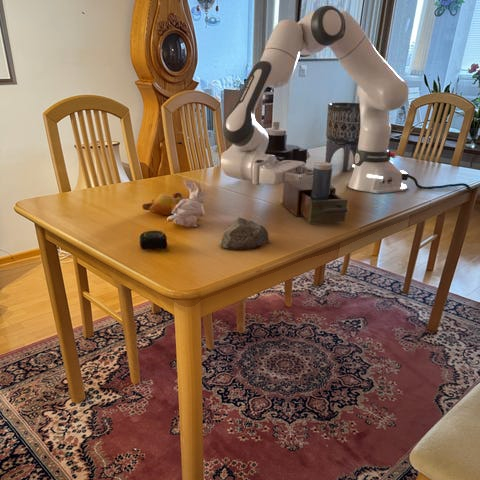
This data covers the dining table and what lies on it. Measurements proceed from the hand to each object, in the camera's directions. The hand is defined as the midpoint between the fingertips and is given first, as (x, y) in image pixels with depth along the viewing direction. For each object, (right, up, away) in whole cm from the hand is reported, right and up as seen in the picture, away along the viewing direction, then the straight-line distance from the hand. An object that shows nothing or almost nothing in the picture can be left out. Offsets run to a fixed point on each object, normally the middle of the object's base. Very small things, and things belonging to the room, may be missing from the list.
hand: (306, 175), depth 137 cm
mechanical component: (-3, +19, +59) cm, 62 cm away
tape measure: (-42, -26, -20) cm, 53 cm away
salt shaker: (+4, -11, +3) cm, 12 cm away
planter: (+28, +27, +73) cm, 83 cm away
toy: (-44, -9, +8) cm, 46 cm away
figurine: (-36, -16, -2) cm, 39 cm away
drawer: (+5, -13, +2) cm, 14 cm away
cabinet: (+2, -7, +13) cm, 15 cm away
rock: (-18, -24, -16) cm, 34 cm away
